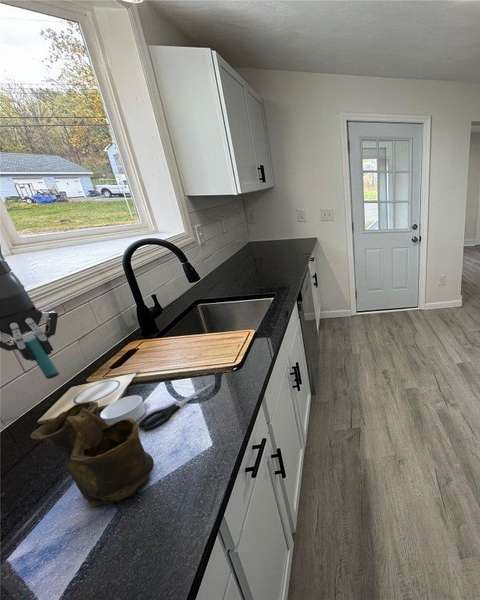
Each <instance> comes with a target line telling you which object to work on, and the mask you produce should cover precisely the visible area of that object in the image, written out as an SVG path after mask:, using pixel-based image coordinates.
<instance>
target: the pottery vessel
mask: <svg viewBox="0 0 480 600" xmlns="http://www.w3.org/2000/svg"><path fill="white" fill-rule="evenodd" d="M97 408H98V403H97V402H93V401H88V402H83V403H79V404H76V405H74V406H73V407H72V408H70V409H69V410H67V411H64V412H62V413H61V414H59V415H58V416H57V417H56V418H55V419H53V420H51V421H48V420H47V421H46V422H45V423H43V424H41V425H39V427H38V428H37V429H36V430H33V431H32V432H31V434H30V439H32V440H36V441H38V442H40V441H41V442H42V441H46V442H48V443H49V444H50V445H51V446H53V447H54V448H55V449H56V450H57V451H58V452H59V453H60V455H62V457H63V458H64V468H65V469H66V470H67V472H68V474H69V475H70V477H71V478H72V480H73V481H74V484H75V485H76V487H77V489H78V490H79V492H80V494H81V495H82V497H83V498H84V499H85V500H86V501H87V502H88V504H89V505H90V506H91V507H96V506H99V505H102V504H106V505H107V504H112V503H114V502H115V503H116V502H117V503H120V502H121V501H122V500H123V499H125V498H127V497H129V498H131V497H133V496H135V495H136V493H137V492H139V491H140V490H141V489H142V488H143V487H144V486H146V485H147V483H148V482H149V478H150V475H151V472H152V471H153V469H154V466H155V461H154V458H153V457H152V455H151V454H150V453H149V452H146V451H145V448H144V447H143V443H142V442H141V439H140V436H139V434H140V432H139V429H140V428H139V423H138V422H137V421H135V420H133V418H126V419H122V420H120V421H118V422H115V423H114V424H106V422H105V421H104V420H103V419H102V418H101V417H100V413H99V410H98V409H97Z"/></svg>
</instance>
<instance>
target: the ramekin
mask: <svg viewBox="0 0 480 600" xmlns="http://www.w3.org/2000/svg"><path fill="white" fill-rule="evenodd" d="M145 413H146V408H145V404H144V401H143V397H142V396H140V395H129V396H125V397H122V398H121V399H120V400H117V401H115V402H113V403H112V404H110V405H109V406H107V407H106V408H105V409H102V411H101V412H100V413H99V415H100V417H101V419H102V421H103V422H105V423H106V424H114V423H115V422H118V421H120V420H122V419H126V418H133V420H135V421H136V422H137V421H139V420H140V419H141V418H142V417H143V416H144V415H145Z"/></svg>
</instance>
